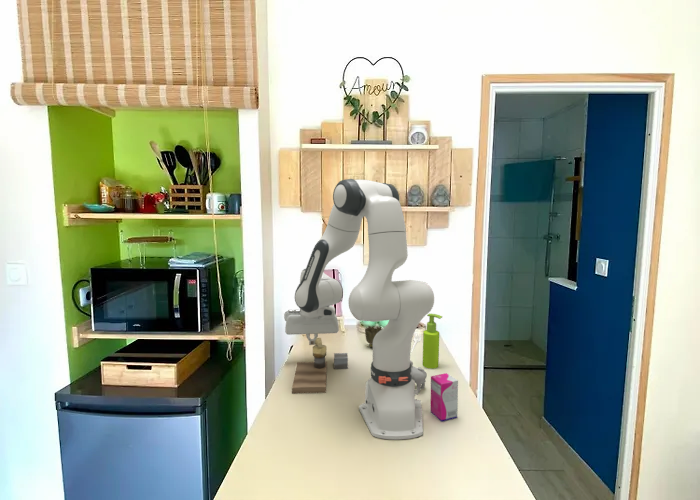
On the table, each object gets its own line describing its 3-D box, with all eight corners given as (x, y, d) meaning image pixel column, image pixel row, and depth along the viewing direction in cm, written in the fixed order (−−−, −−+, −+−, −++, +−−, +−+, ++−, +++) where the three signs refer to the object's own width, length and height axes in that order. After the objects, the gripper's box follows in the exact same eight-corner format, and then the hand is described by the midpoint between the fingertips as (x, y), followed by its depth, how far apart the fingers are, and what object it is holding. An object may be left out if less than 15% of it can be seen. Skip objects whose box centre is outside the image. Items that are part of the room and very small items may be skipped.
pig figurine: (394, 378, 141) (395, 349, 139) (428, 388, 133) (429, 357, 132) (387, 384, 137) (387, 354, 135) (421, 394, 129) (422, 363, 128)
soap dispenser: (436, 370, 147) (438, 318, 144) (419, 366, 151) (421, 314, 148) (443, 365, 151) (445, 314, 149) (426, 361, 155) (428, 311, 153)
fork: (406, 354, 164) (406, 350, 164) (414, 337, 183) (414, 333, 182) (414, 355, 163) (414, 351, 163) (422, 337, 182) (422, 333, 181)
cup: (362, 349, 167) (362, 330, 166) (367, 342, 174) (367, 325, 173) (380, 351, 165) (380, 332, 164) (383, 344, 172) (384, 326, 171)
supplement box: (445, 408, 121) (447, 372, 119) (457, 418, 115) (459, 380, 114) (429, 412, 119) (430, 375, 117) (440, 422, 113) (442, 384, 112)
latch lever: (327, 357, 143) (326, 349, 143) (312, 358, 143) (312, 350, 142) (324, 343, 156) (324, 336, 156) (311, 344, 156) (311, 336, 155)
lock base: (350, 392, 131) (349, 374, 130) (292, 393, 130) (291, 375, 129) (347, 363, 154) (347, 348, 153) (298, 363, 153) (297, 348, 152)
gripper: (283, 312, 147) (284, 348, 149) (339, 311, 149) (339, 346, 151) (284, 307, 154) (285, 342, 156) (337, 306, 156) (337, 340, 157)
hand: (312, 344), depth 153 cm, fingers closed
